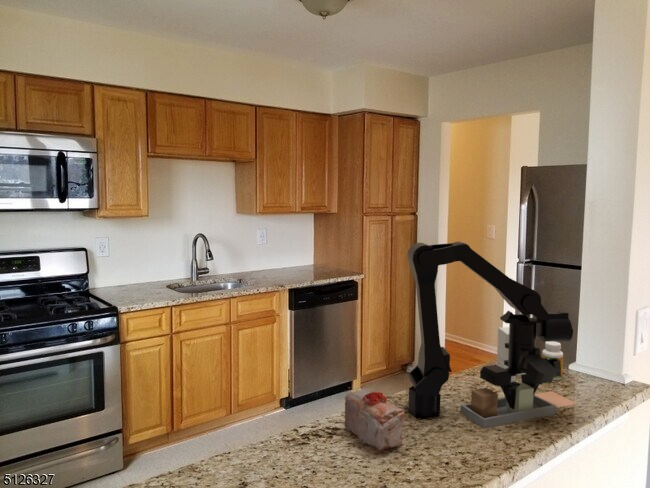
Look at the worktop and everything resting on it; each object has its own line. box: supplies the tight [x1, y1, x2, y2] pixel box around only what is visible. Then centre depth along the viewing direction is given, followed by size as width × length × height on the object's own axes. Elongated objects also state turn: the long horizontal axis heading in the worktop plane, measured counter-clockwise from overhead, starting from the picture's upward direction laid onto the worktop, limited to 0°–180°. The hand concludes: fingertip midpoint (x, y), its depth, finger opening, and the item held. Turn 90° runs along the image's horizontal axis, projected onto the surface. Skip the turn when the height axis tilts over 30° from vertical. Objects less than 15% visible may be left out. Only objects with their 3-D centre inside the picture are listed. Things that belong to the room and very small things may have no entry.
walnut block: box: [470, 387, 499, 418], centre depth 113 cm, size 4×4×6 cm
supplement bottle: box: [541, 341, 564, 381], centre depth 139 cm, size 5×5×10 cm
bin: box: [460, 395, 557, 429], centre depth 115 cm, size 20×8×2 cm, turn 111°
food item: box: [344, 389, 406, 451], centre depth 104 cm, size 14×8×10 cm, turn 35°
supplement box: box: [496, 326, 521, 377], centre depth 142 cm, size 7×7×13 cm
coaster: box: [534, 391, 578, 409], centre depth 123 cm, size 8×8×1 cm
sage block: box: [506, 381, 534, 413], centre depth 116 cm, size 4×4×6 cm
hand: (519, 406), depth 116 cm, fingers closed on sage block, 4 cm apart
